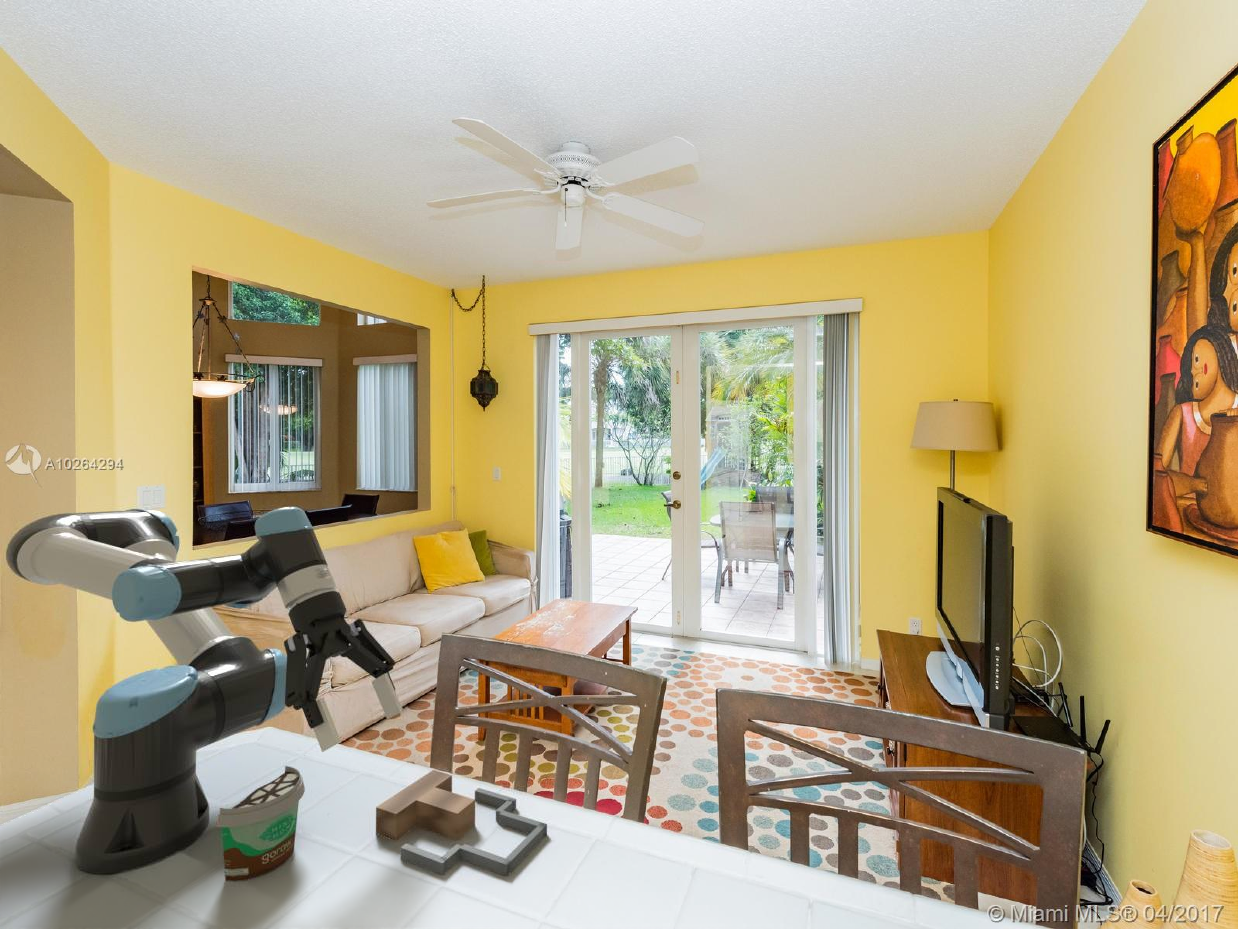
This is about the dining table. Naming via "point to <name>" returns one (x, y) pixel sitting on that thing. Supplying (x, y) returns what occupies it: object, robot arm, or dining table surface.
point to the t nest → (479, 856)
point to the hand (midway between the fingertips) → (366, 730)
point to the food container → (261, 828)
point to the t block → (426, 809)
